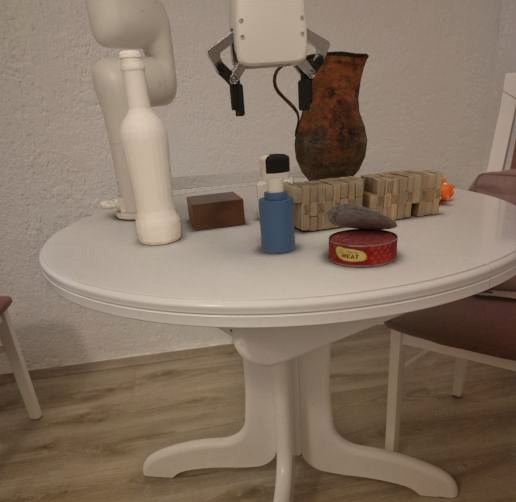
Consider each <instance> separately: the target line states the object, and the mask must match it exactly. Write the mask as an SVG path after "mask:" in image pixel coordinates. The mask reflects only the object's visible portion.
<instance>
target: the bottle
mask: <svg viewBox="0 0 516 502" xmlns="http://www.w3.org/2000/svg"><path fill="white" fill-rule="evenodd" d="M118 56H119V59H120V62H121V71H122V73H123V80H124V86H125V93H126V100H127V107H128V111H127V114H126V116H125V118H124V120H123V122H122V125H121V128H120V141H121V146H122V151H123V155H124V159H125V163H126V167H127V172H128V176H129V180H130V184H131V188H132V193H133V197H134V201H135V206H136V220H134V227H135V232H136V235H137V238H138V240H139V242H140V243H141V244H142V245H147V246H160V245H161V246H163V245H167V244H172V243H175V242H177V241H178V240H180V238H181V236H182V223H181V218H180V215H179V213H178V211H177V210H176V206H175V200H174V188H173V178H172V176H173V175H172V165H171V154H170V143H169V135H168V131H167V128H166V126H165V124H164V123H163V121H162V119H160V117H159V116H158V115H157V114H156V113H155V112H154V110H153V109H152V107H151V106H150V100H149V94H148V88H147V83H146V77H145V65H144V64H143V62H142V60H141V58H142V57H143V56H142V54H141V52H140V51H139V50H138V49H126V50H121V51H120V52H118Z"/></svg>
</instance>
